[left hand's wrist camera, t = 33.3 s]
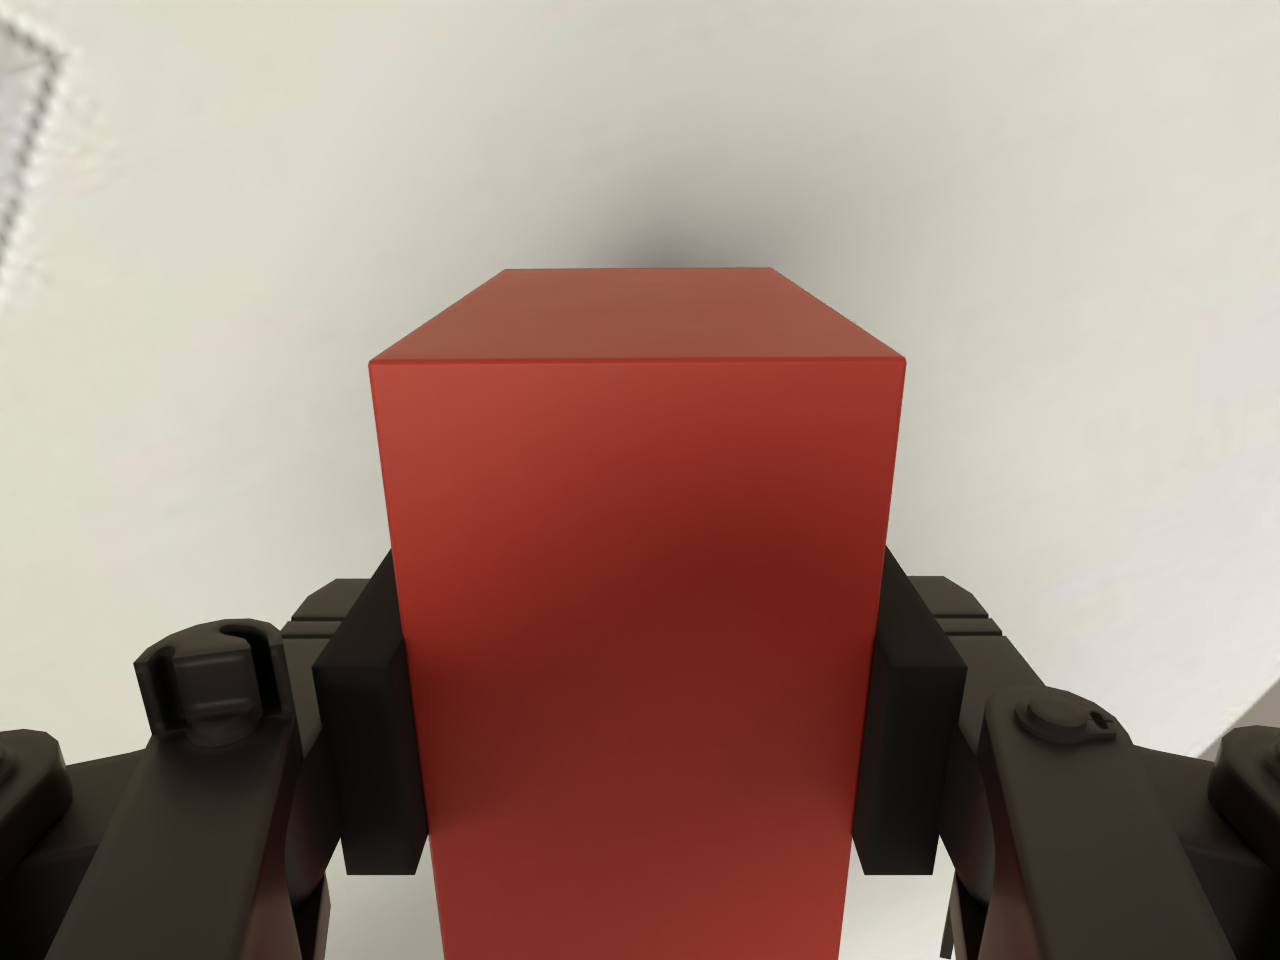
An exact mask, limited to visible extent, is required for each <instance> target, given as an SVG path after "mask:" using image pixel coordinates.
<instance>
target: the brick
mask: <svg viewBox="0 0 1280 960" xmlns="http://www.w3.org/2000/svg"><path fill="white" fill-rule="evenodd" d="M368 368H369V376H370V384H371V392H372V400H373V407H374V415H375V423H376V431H377V438H378V446H379V454H380V462H381V470H382V477H383V485H384V493H385V501H386V508H387V516H388V524H389V532H390V540H391V547H392V555H393V563H394V571H395V578H396V586H397V594H398V602H399V610H400V617H401V625H402V633H403V639H404V647H405V654H406V662H407V670H408V678H409V686H410V694H411V702H412V709H413V717H414V725H415V733H416V741H417V749H418V757H419V764H420V772H421V780H422V788H423V796H424V804H425V811H426V819H427V827H428V835H429V843H430V851H431V859H432V866H433V874H434V882H435V890H436V897H437V905H438V913H439V921H440V929H441V936H442V944H443V952H444V960H838V956H839V947H840V938H841V930H842V921H843V912H844V903H845V895H846V886H847V877H848V868H849V860H850V851H851V842H852V829H853V821H854V813H855V804H856V796H857V788H858V779H859V770H860V762H861V753H862V744H863V736H864V727H865V719H866V710H867V701H868V693H869V684H870V675H871V667H872V658H873V649H874V641H875V633H876V624H877V615H878V607H879V598H880V589H881V581H882V572H883V563H884V554H885V546H886V537H887V528H888V519H889V511H890V502H891V493H892V485H893V476H894V467H895V458H896V450H897V441H898V432H899V424H900V415H901V406H902V397H903V389H904V380H905V371H906V359H905V357H903V356H902V355H900V354H899V353H897V352H896V351H894V350H893V349H891V348H890V347H888V346H887V345H885V344H884V343H883V342H881V341H880V340H878V339H877V338H875V337H874V336H872V335H871V334H869V333H868V332H866V331H865V330H863V329H862V328H860V327H859V326H857V325H856V324H854V323H853V322H851V321H850V320H848V319H847V318H845V317H844V316H842V315H841V314H839V313H838V312H836V311H835V310H833V309H832V308H830V307H829V306H827V305H826V304H825V303H823V302H822V301H820V300H819V299H817V298H816V297H814V296H813V295H811V294H810V293H808V292H807V291H805V290H804V289H802V288H801V287H799V286H798V285H796V284H795V283H793V282H792V281H790V280H789V279H787V278H786V277H784V276H783V275H781V274H780V273H778V272H777V271H775V270H774V269H772V268H770V267H766V268H596V269H505V270H503V271H502V272H500V273H499V274H497V275H496V276H494V277H493V278H491V279H490V280H488V281H487V282H485V283H484V284H482V285H481V286H479V287H478V288H476V289H475V290H473V291H472V292H470V293H469V294H468V295H466V296H465V297H463V298H462V299H460V300H459V301H457V302H456V303H454V304H453V305H451V306H450V307H448V308H447V309H445V310H444V311H442V312H441V313H439V314H438V315H436V316H435V317H433V318H432V319H431V320H429V321H428V322H426V323H425V324H423V325H422V326H420V327H419V328H417V329H416V330H414V331H413V332H411V333H410V334H408V335H407V336H405V337H404V338H402V339H401V340H399V341H398V342H397V343H395V344H394V345H392V346H391V347H389V348H388V349H386V350H385V351H383V352H382V353H380V354H379V355H377V356H376V357H374V358H373V359H371V360H370V361H369V364H368Z"/></svg>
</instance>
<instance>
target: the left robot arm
mask: <svg viewBox="0 0 1280 960" xmlns="http://www.w3.org/2000/svg"><path fill="white" fill-rule="evenodd" d="M133 664H134V668H135V672H136V676H137V680H138V683H139V687H140V691H141V695H142V698H143V702H144V706H145V710H146V714H147V717H148V721H149V725H150V729H151V733H152V736H151V738H150V740H149V742H148V744H147V746H146V748H145V749H142V750H138V751H134V752H131V753H126V754H121V755H116V756H111V757H106V758H101V759H96V760H91V761H86V762H82V763H77V764H72V765H67V766H66V765H65V762H64V758H63V755H62V752H61V749H60V746H59V743H58V741H57V740H56V739H54V738H53V737H52V736H51V735H49V734H48V733H47V732H42V731H35V730H28V729H19V730H11V731H3V732H0V960H324V958H325V949H326V941H327V933H328V924H329V916H330V908H331V904H330V897H329V890H328V884H327V878H326V873H325V870H326V868H327V866H328V863H329V861H330V859H331V857H332V855H333V852H334V850H335V848H336V846H337V844H338V841H339V839H340V837H341V843H342V849H343V854H344V860H345V866H346V872H347V875H415V873H416V870H417V867H418V864H419V860H420V857H421V854H422V851H423V848H424V845H425V842H426V839H427V836H428V827H427V819H426V811H425V804H424V796H423V788H422V780H421V772H420V764H419V757H418V749H417V741H416V733H415V725H414V717H413V709H412V702H411V694H410V686H409V678H408V670H407V662H406V654H405V647H404V639H403V633H402V625H401V617H400V610H399V602H398V594H397V586H396V578H395V571H394V563H393V555H392V548H391V549H390V551H389V552H388V554H387V555H386V557H385V558H384V560H383V561H382V563H381V564H380V566H379V567H378V569H377V570H376V572H375V573H374V575H373V576H372V578H371V579H335V580H334V581H332V582H330V583H329V584H327V585H325V586H324V587H322V588H321V589H319V590H317V591H316V592H314V593H313V594H311V595H309V596H308V597H307V598H306V599H305V601H304V602H303V603H302V604H301V606H300V607H299V608H298V609H297V611H296V612H295V613H294V615H293V616H292V617H291V621H288V622H287V623H286V625H285V626H284V627H283V628H282V630H281V631H280V630H278V629H277V628H276V627H274V626H273V625H272V624H270V623H268V622H263V621H259V620H254V619H224V620H219V621H214V622H209V623H204V624H199V625H195V626H192V627H190V628H187V629H184V630H182V631H179V632H176V633H174V634H171V635H169V636H167V637H165V638H164V639H162V640H160V641H159V642H157V643H155V644H154V645H152V646H150V647H149V648H147V649H146V650H145V651H144V652H143V653H142V654H141V655H140V657H139V658H138V659H137V660H136V661H135V662H134V663H133ZM939 834H940V837H941V839H942V841H943V843H944V845H945V847H946V850H947V852H948V854H949V856H950V858H951V861H952V863H953V865H954V867H955V873H954V878H953V884H952V889H951V895H950V900H949V906H948V911H947V917H946V922H945V927H944V933H943V938H942V945H941V952H940V957H941V958H946V959H950V960H951V955H952V950H953V944H954V947H955V956H956V960H1280V728H1276V727H1267V726H1259V725H1255V726H1247V727H1240V728H1234V729H1233V730H1231V731H1230V732H1229V733H1228V734H1226V735H1225V736H1224V737H1222V740H1221V743H1220V746H1219V750H1218V753H1217V756H1216V759H1215V762H1211V761H1206V760H1201V759H1196V758H1191V757H1186V756H1181V755H1176V754H1171V753H1166V752H1161V751H1156V750H1151V749H1148V748H1144V747H1140V746H1136V745H1133V743H1132V741H1131V739H1130V737H1129V734H1128V733H1127V732H1126V730H1125V729H1124V728H1123V727H1122V725H1121V724H1120V723H1119V722H1118V720H1117V719H1116V718H1115V717H1114V716H1113V715H1111V714H1110V713H1108V712H1107V711H1105V710H1104V709H1103V708H1101V707H1100V706H1098V705H1097V704H1095V703H1094V702H1092V701H1089V700H1087V699H1085V698H1082V697H1080V696H1078V695H1075V694H1073V693H1071V692H1069V691H1064V690H1060V689H1056V688H1052V687H1047V686H1045V684H1044V683H1043V682H1042V681H1041V679H1040V678H1039V677H1038V676H1037V674H1036V673H1035V672H1034V671H1033V669H1032V668H1031V667H1030V666H1029V664H1028V663H1027V662H1026V661H1025V659H1024V658H1023V657H1022V656H1021V654H1020V653H1019V652H1018V651H1017V649H1016V648H1015V647H1014V646H1013V644H1012V643H1011V642H1010V641H1009V639H1008V638H1007V637H1006V636H1002V631H1001V629H1000V628H999V627H998V626H997V624H996V623H995V622H994V621H993V619H992V618H989V617H988V613H987V612H986V611H985V609H984V608H983V607H982V606H981V604H980V603H979V602H978V601H977V599H976V598H975V597H974V596H973V594H971V593H970V592H968V591H967V590H965V589H963V588H962V587H960V586H959V585H957V584H955V583H954V582H952V581H950V580H949V579H947V578H946V577H944V576H906V574H905V573H904V571H903V570H902V568H901V567H900V565H899V564H898V562H897V561H896V559H895V558H894V556H893V555H892V553H891V552H890V550H889V549H888V547H887V546H885V554H884V563H883V572H882V581H881V589H880V598H879V607H878V615H877V624H876V633H875V641H874V649H873V658H872V667H871V675H870V684H869V693H868V701H867V710H866V719H865V727H864V736H863V744H862V753H861V762H860V770H859V779H858V788H857V796H856V804H855V813H854V821H853V829H852V837H853V841H854V844H855V847H856V850H857V853H858V856H859V859H860V862H861V865H862V868H863V872H864V875H932V874H933V869H934V863H935V857H936V851H937V845H938V839H939Z"/></svg>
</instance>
